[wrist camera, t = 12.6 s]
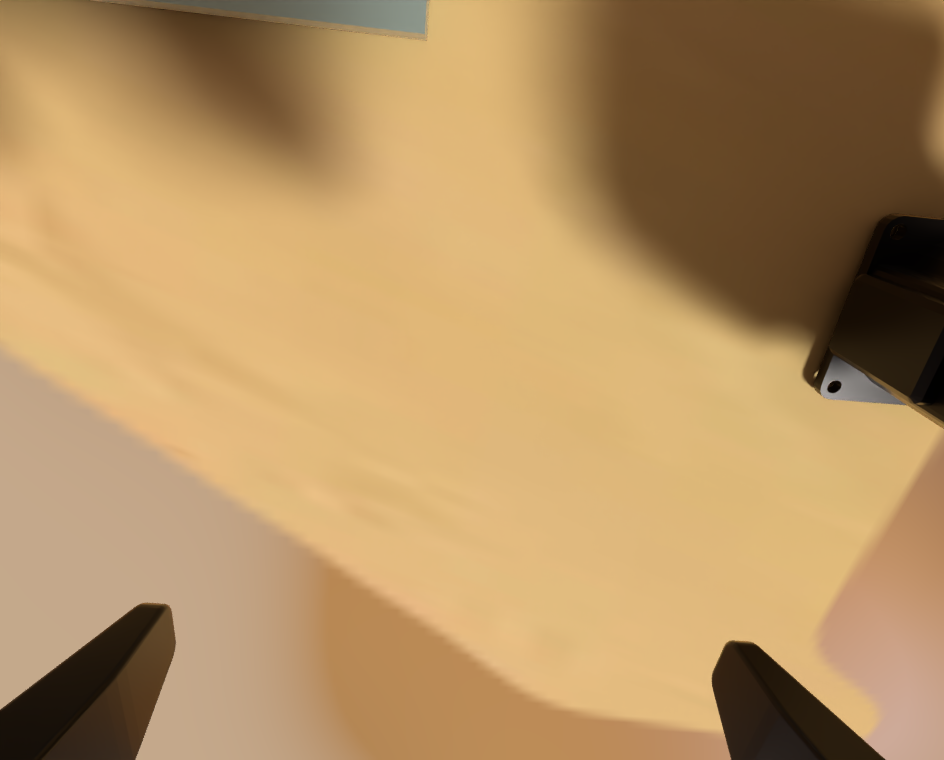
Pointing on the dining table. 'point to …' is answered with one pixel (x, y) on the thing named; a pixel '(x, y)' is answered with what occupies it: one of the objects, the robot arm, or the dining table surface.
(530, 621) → the dining table surface
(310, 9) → the pin tray
